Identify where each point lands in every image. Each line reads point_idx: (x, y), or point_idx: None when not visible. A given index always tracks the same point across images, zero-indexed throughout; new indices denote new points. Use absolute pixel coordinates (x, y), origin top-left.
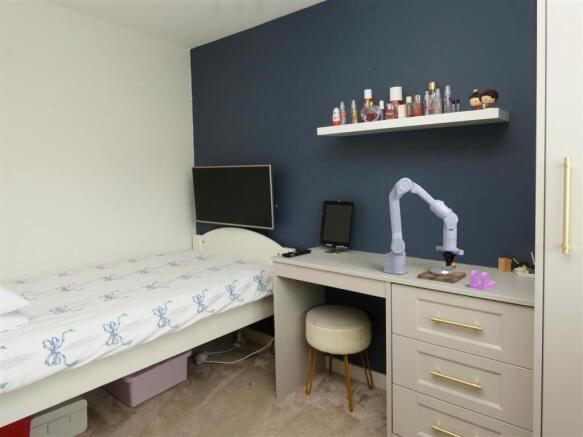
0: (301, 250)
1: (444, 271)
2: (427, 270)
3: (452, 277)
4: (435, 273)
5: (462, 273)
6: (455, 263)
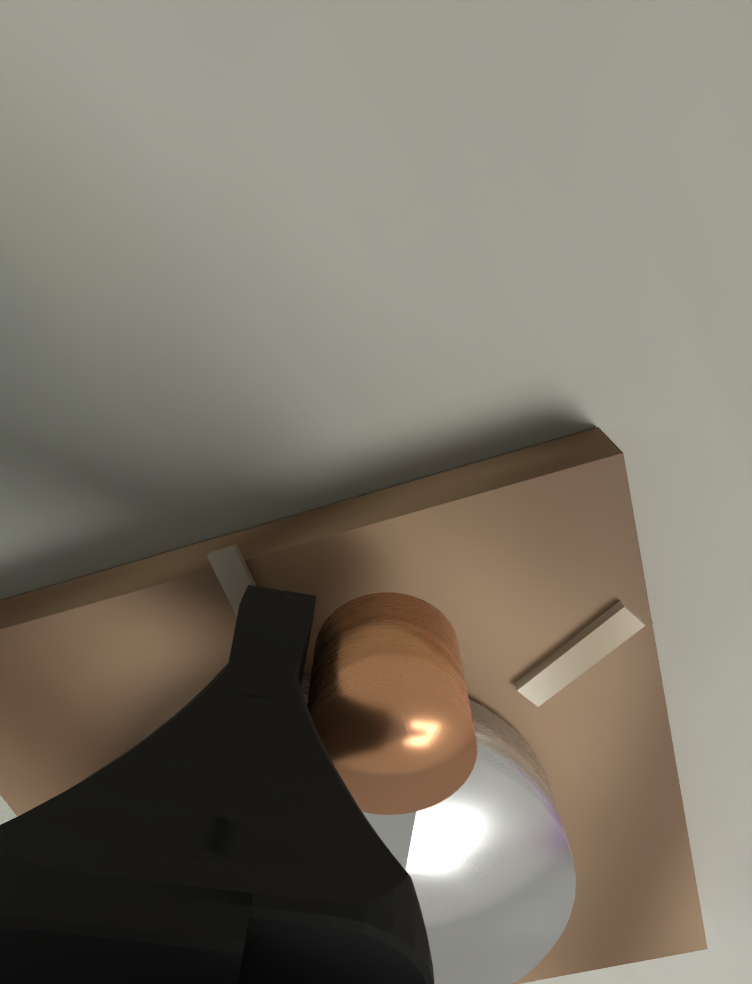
0: None
1: (485, 978)
2: (14, 798)
3: (612, 886)
4: None
5: (590, 552)
6: (475, 758)
